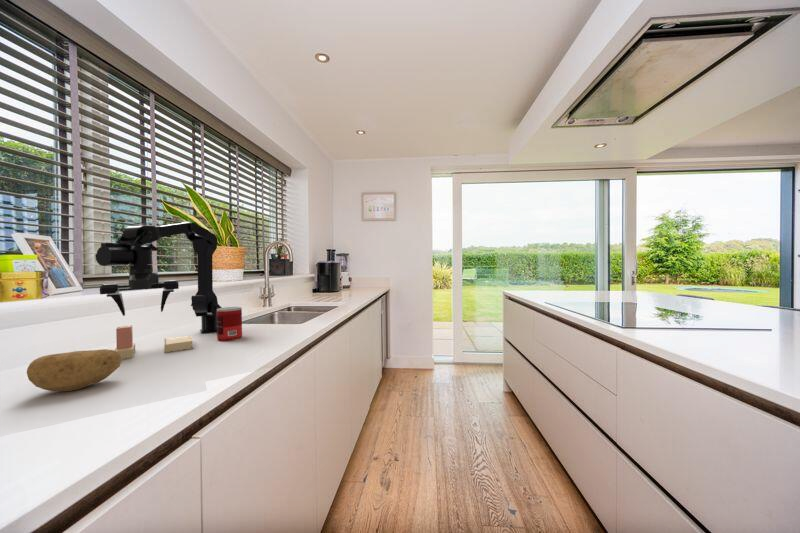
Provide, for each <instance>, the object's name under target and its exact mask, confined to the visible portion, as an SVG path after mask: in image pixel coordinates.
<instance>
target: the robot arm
mask: <svg viewBox="0 0 800 533" xmlns="http://www.w3.org/2000/svg"><path fill="white" fill-rule="evenodd" d="M182 234H184V236H185V237H186V239H187V240H189V241H190V242H191V243H192V249H193V250H194V251H195V253H196V255H197V292H196V293H195V295H191V298H190V299H191V304H190V307H192V310H193V312H194V314H195V317H201V318H200V320H201V328H200V329H199V332H200V333H201V334H205V333H213V332H217V309H219V308H223V307H222V306H221V305H220V304H219V302H218V297H217V295H216V294H215V292H214V288H213V287H214V286H213V278H214V277H213V255H214V253H215V251H216V250H217V247H218V237H217V236H216V234H214V233H213V232H211V231H210V229H207V228H204V227H202V226H201V225H199V224H197V222H194V221H183V222H181V223H180V222H179V223H173V224H166V225H157V226H156V225H133V226H132V225H131V226H126V227H125V228H124V230H123V232H122V234H121V235H120V237H119V238H118V239H117V241H115V243H114V242H101V243H100V247H98V249H97V251H96V253H95V257H94V258H95V260H96V263H97V265H99V266H100V267H114V266H115V267H117V266H120V267H121V266H128V274H129V275H128V284H121V285H120V283H119V282H118V283H104V284H102V285H100V286H99V295H106V297H107V298H108V297H111V299H113V301H114V302H115V303H116V305H117V307H118V308H119V310H120V313H121V314H122V316H123V317H125V316H126V309H125V304H124V299H123V294H122V292H124V291H126V292H127V291H140V290H141V291H142V290H153V289H154V290H156V289H162V293H161V294H162V295H161V302H160V312H161V313H163V311H164V307H165V305H166V302H167V299H168V298H169V295H170V294H171V293H173V292H175V290H179V288H180V286H179V281H178V280H177V279H174V280H173V279H172V280H163V282H160V281H159V280H160V279H159V272H154V269H153V256H152V255H153V252H158V251H159V248H158V247H157V246H155V245H154V244H153V243H154V242H158V241H159V240H160V239H161V238H166V237H171V236H176V235H182Z"/></svg>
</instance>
